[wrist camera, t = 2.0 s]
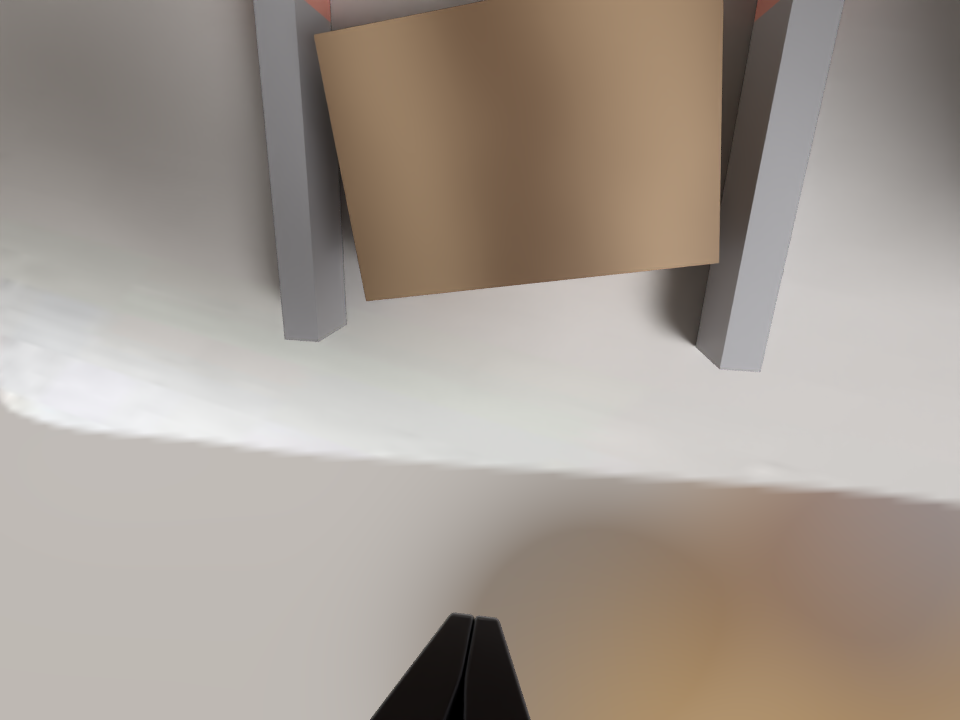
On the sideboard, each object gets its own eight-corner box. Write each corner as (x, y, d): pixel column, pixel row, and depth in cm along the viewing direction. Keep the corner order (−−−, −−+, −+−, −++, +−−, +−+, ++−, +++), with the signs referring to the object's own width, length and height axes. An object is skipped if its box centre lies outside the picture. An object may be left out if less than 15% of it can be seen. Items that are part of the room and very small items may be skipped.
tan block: (677, 16, 15) (724, -48, 11) (679, 249, 17) (719, 262, 13) (366, 73, 16) (313, 35, 13) (402, 280, 18) (366, 301, 15)
